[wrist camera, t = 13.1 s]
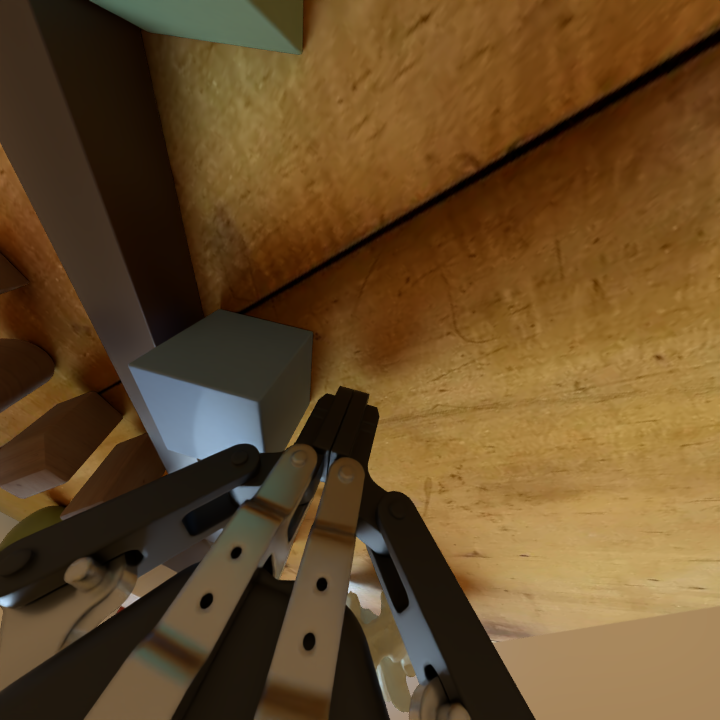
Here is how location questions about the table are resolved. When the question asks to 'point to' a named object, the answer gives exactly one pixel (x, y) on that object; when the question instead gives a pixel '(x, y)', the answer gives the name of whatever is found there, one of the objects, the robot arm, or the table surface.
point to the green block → (219, 20)
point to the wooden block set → (63, 431)
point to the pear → (33, 524)
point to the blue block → (227, 384)
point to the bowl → (168, 570)
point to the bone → (385, 651)
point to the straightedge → (99, 177)
